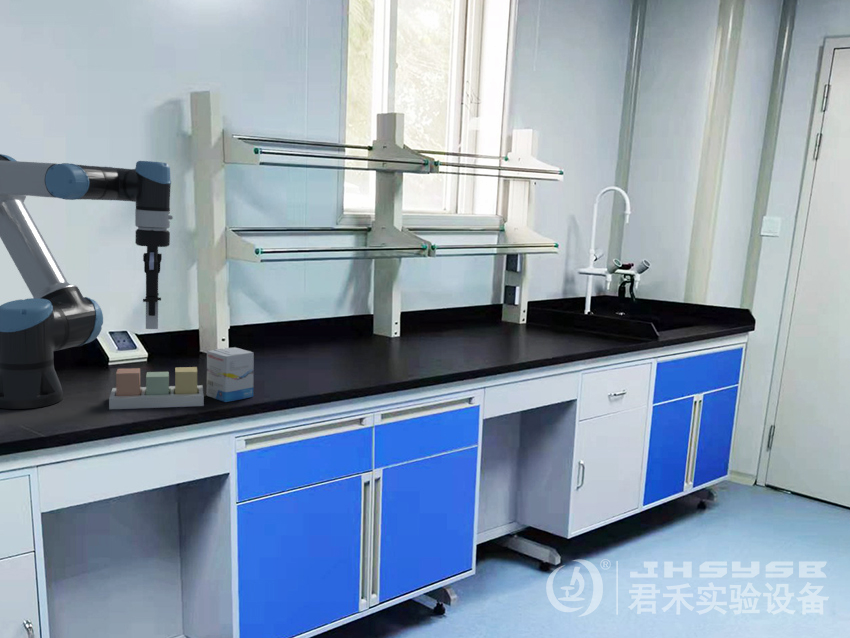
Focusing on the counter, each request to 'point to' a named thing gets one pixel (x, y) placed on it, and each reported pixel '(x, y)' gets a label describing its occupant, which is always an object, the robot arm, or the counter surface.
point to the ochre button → (186, 380)
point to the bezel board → (156, 399)
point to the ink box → (230, 374)
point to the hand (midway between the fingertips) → (151, 328)
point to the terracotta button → (128, 382)
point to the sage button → (157, 383)
